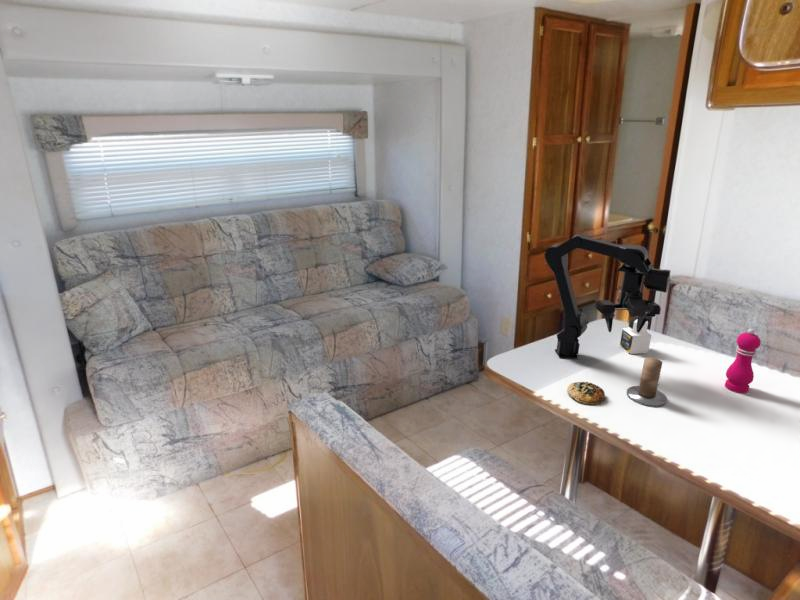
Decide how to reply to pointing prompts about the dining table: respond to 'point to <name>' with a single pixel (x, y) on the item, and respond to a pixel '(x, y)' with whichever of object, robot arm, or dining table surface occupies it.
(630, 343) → the medicine bottle
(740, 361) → the pepper mill
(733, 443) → the dining table surface
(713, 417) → the dining table surface
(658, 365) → the walnut post
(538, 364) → the dining table surface
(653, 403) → the pad
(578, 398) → the bread roll
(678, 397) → the dining table surface
